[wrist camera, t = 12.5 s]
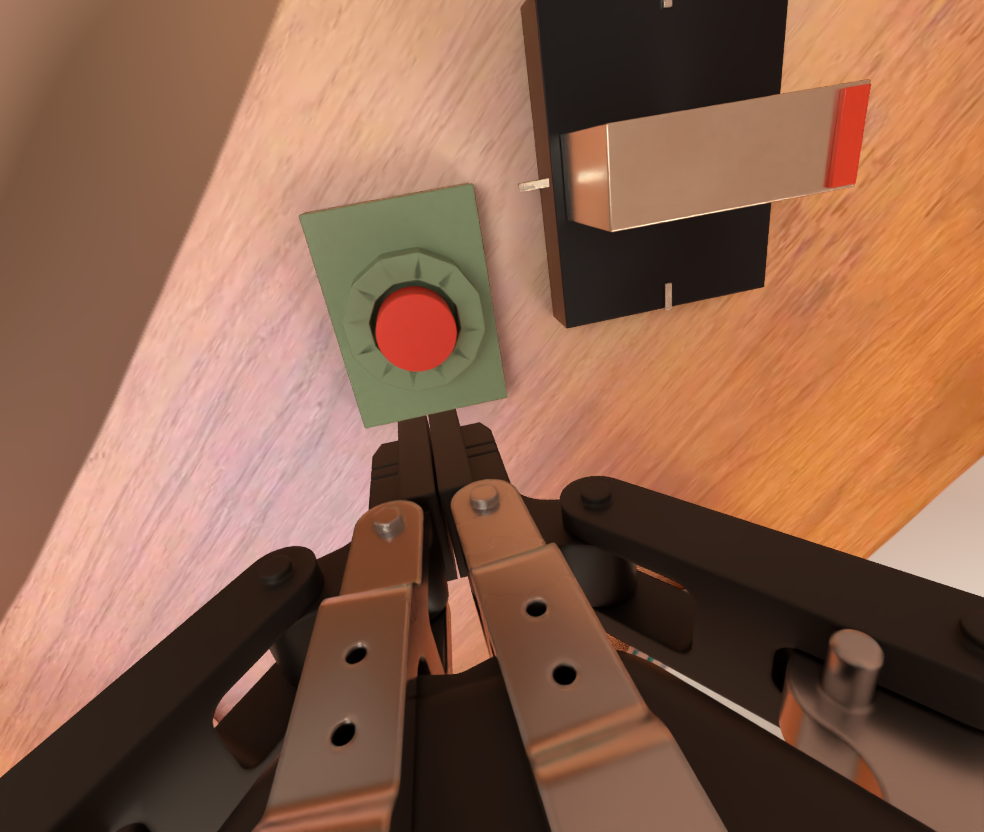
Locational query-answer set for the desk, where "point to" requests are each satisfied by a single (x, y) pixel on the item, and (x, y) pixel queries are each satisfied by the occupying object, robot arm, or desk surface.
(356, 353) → the green rectangular block
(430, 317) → the button
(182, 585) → the desk surface
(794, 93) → the silver metal block
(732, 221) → the black flat square plate
